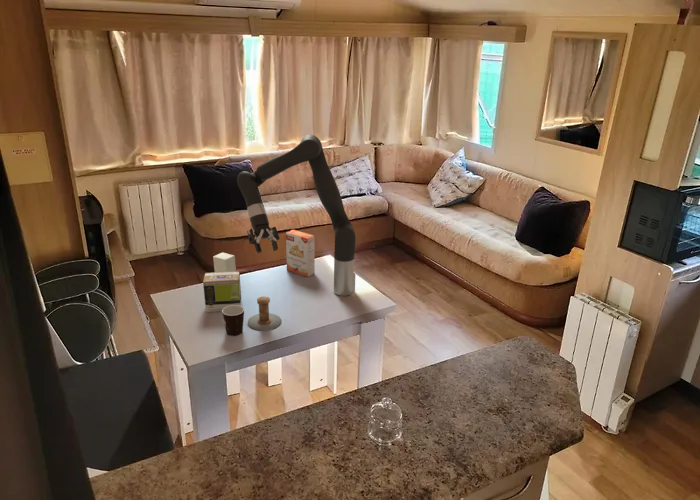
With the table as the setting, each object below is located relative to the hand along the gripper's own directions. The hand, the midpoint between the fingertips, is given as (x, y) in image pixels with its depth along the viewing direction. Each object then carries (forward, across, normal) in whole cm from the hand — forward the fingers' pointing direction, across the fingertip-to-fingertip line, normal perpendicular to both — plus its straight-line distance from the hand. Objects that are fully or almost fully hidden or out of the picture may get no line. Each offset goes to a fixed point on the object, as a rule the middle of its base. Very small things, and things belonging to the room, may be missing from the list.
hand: (267, 251), depth 231 cm
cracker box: (+7, +36, +26) cm, 45 cm away
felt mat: (+28, -7, +6) cm, 30 cm away
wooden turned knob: (+28, -7, +6) cm, 30 cm away
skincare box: (+6, 0, +38) cm, 39 cm away
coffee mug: (+30, -22, +8) cm, 38 cm away
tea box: (+16, -12, +26) cm, 33 cm away
